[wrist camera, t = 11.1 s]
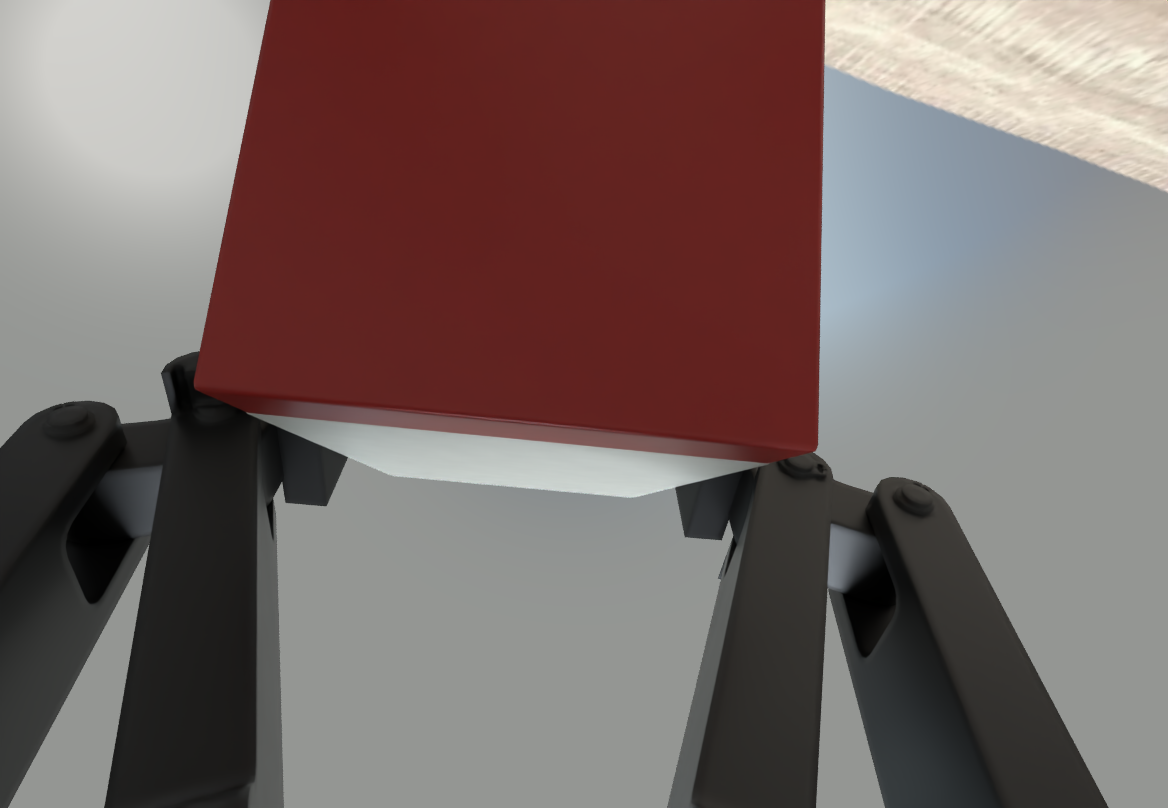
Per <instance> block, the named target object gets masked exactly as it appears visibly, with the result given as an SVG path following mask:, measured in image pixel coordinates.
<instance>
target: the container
mask: <svg viewBox="0 0 1168 808" xmlns="http://www.w3.org/2000/svg"><path fill="white" fill-rule="evenodd" d="M824 51H825V0H271V1H270V6H269V10H268V15H267V20H266V25H265V30H264V35H263V40H262V45H261V50H260V55H259V60H258V65H257V70H256V75H255V80H254V85H253V90H252V95H251V100H250V105H249V110H248V115H247V119H246V125H245V129H244V134H243V139H242V144H241V150H240V154H239V159H238V164H237V169H236V174H235V179H234V184H233V189H232V194H231V199H230V204H229V209H228V214H227V219H226V224H225V228H224V234H223V238H222V244H221V248H220V253H219V258H218V263H217V268H216V273H215V278H214V283H213V288H212V293H211V298H210V303H209V308H208V313H207V318H206V323H205V328H204V333H203V338H202V343H201V348H200V352H199V357H198V362H197V367H196V372H195V377H194V388H195V389H196V390H198V391H200V392H201V393H204V394H206V395H208V396H211V397H213V398H215V399H218V400H220V401H222V402H224V403H227V404H229V405H231V406H234V407H236V408H238V409H241V410H243V411H245V412H247V414H249V415H252V416H254V417H256V418H259V419H261V420H263V421H266V422H268V423H270V424H273V425H275V426H277V427H280V428H282V429H284V430H286V431H289V432H291V433H293V434H296V435H298V436H300V437H303V438H305V439H307V440H310V441H312V442H314V443H317V444H319V445H321V446H324V447H326V448H328V449H331V450H333V451H335V452H338V453H340V454H342V455H345V456H347V457H349V458H351V459H354V460H356V461H358V462H361V463H363V464H365V465H368V466H370V467H372V468H375V469H377V470H379V471H382V472H384V473H386V474H389V475H391V476H399V477H410V478H421V479H432V480H443V481H455V482H466V483H476V484H487V485H498V486H510V487H520V488H531V489H542V490H553V491H564V492H575V493H586V494H597V495H608V496H620V497H630V498H633V497H638V496H642V495H645V494H650V493H654V492H657V491H662V490H666V489H670V488H674V487H678V486H682V485H686V484H690V483H695V482H699V481H703V480H707V479H711V478H715V477H719V476H723V475H727V474H731V473H735V472H739V471H743V470H747V469H751V468H755V467H760V466H764V465H767V464H769V463H772V462H775V461H779V460H783V459H787V458H791V457H795V456H799V455H803V454H807V453H811V452H814V451H816V449H817V446H818V414H819V412H818V411H819V353H820V352H819V351H820V292H821V291H820V290H821V232H822V229H821V228H822V226H821V225H822V171H823V109H824Z"/></svg>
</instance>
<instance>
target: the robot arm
mask: <svg viewBox="0 0 1168 808" xmlns="http://www.w3.org/2000/svg"><path fill="white" fill-rule="evenodd" d="M199 352H200V351H199ZM199 352H193V353H189V354H187V355H184V356H181V357H178V358H176V359H174V360H173V361H171V362H170V363H168V364H167V365H166V366H165V368H164V369H163V371H162V373H161V375H162V379H163V383H164V386H165V390H166V394H167V398H168V402H169V406H170V409H171V413H172V416H171V418H170V419H165V420H158V421H148V422H138V423H126V424H121V422H120V419H119V416H118V414H117V412H116V410H115V408H113V407H111V406H109V405H107V404H105V403H101V402H94V401H79V402H68V403H64V404H59V405H55V406H52V407H50V408H48V409H45V410H43V411H41V412H38V413H36V414H35V415H33V416H32V417H31V418H29V419H28V420H27V421H25V422H24V423H23V424H22V425H21V426H20V427H19V429H17V431H16V432H15V433H14V434H13V435H12V436H11V437H10V438H9V439H8V440H7V441H6V443H5V444H4V445H3V446H2V447H1V448H0V808H8V806H9V805H10V803H11V801H12V799H13V797H14V795H15V793H16V791H17V790H18V788H19V786H20V784H21V782H22V780H23V778H24V777H25V775H26V773H27V771H28V769H29V767H30V765H31V763H32V762H33V760H34V758H35V756H36V754H37V752H38V750H39V749H40V746H41V745H42V743H43V741H44V739H45V737H46V735H47V734H48V732H49V730H50V728H51V726H52V724H53V722H54V721H55V719H56V717H57V715H58V713H59V711H60V709H61V707H62V705H63V704H64V702H65V700H66V698H67V696H68V694H69V692H70V691H71V689H72V687H73V685H74V683H75V681H76V679H77V678H78V676H79V674H80V672H81V670H82V668H83V666H84V665H85V663H86V661H87V659H88V657H89V655H90V653H91V651H92V650H93V648H94V646H95V644H96V642H97V640H98V638H99V637H100V635H101V633H102V631H103V629H104V627H105V625H106V623H107V622H108V620H109V618H110V616H111V614H112V612H113V610H114V609H115V607H116V605H117V603H118V601H119V599H120V597H121V595H122V593H123V592H124V590H125V588H126V586H127V584H128V582H129V580H130V579H131V577H132V575H133V573H134V571H135V569H136V567H137V566H138V564H139V562H140V560H141V558H142V556H143V554H144V553H145V551H146V549H147V547H148V545H149V550H148V556H147V562H146V567H145V573H144V579H143V585H142V591H141V597H140V602H139V609H138V614H137V620H136V626H135V632H134V638H133V644H132V649H131V656H130V661H129V667H128V673H127V679H126V684H125V690H124V696H123V702H122V708H121V714H120V719H119V725H118V732H117V737H116V743H115V749H114V754H113V761H112V766H111V772H110V778H109V784H108V790H107V796H106V802H105V806H104V808H284V800H283V763H282V724H281V688H280V650H279V613H278V575H277V537H276V513H275V506H274V500H273V497H274V495H275V493H276V491H277V489H278V488H279V486H280V484H281V482H283V489H284V496H285V502H286V503H295V504H306V505H318V506H327V504H328V501H329V499H330V497H331V495H332V492H333V490H334V488H335V486H336V483H337V481H338V479H339V476H340V474H341V472H342V469H343V467H344V465H345V463H346V461H347V458H348V457H347V456H345V455H342V454H340V453H338V452H335V451H333V450H331V449H328V448H326V447H324V446H321V445H319V444H317V443H314V442H312V441H310V440H307V439H305V438H303V437H300V436H298V435H296V434H293V433H291V432H289V431H286V430H284V429H282V428H280V427H277V426H275V425H273V424H270V423H268V422H266V421H263V420H261V419H259V418H256V417H254V416H252V415H249V414H247V412H245V411H243V410H241V409H238V408H236V407H234V406H231V405H229V404H227V403H224V402H222V401H220V400H218V399H215V398H213V397H211V396H208V395H206V394H204V393H201V392H200V391H198V390H196V389H195V388H194V377H195V372H196V367H197V362H198V357H199ZM675 488H676V493H677V498H678V504H679V509H680V514H681V519H682V525H683V530H684V535H685V537H690V538H702V539H715V540H722V538H723V535H724V532H725V529H726V526H727V523H728V521H730V524H731V528H732V531H733V535H734V536H733V538H732V541H731V545H730V547H729V550H728V552H727V555H726V558H725V560H724V563H723V566H722V569H721V571H720V574H719V577H718V579H721V582H720V586H719V590H718V595H717V599H716V603H715V607H714V612H713V616H712V620H711V624H710V628H709V633H708V637H707V641H706V646H705V650H704V654H703V658H702V662H701V667H700V671H699V675H698V679H697V683H696V688H695V692H694V696H693V700H692V705H691V709H690V713H689V717H688V722H687V726H686V730H685V734H684V739H683V743H682V747H681V751H680V755H679V760H678V764H677V768H676V773H675V777H674V781H673V785H672V789H671V794H670V798H669V802H668V806H667V808H816V795H817V776H818V757H819V738H820V719H821V700H822V681H823V662H824V642H825V623H826V603H827V588H829V595H830V599H831V603H832V606H833V610H834V614H835V618H836V622H837V625H838V629H839V633H840V637H841V640H842V645H843V648H844V652H845V656H846V659H847V664H848V667H849V671H850V675H851V679H852V683H853V687H854V690H855V694H856V698H857V701H858V705H859V709H860V713H861V717H862V721H863V725H864V728H865V732H866V736H867V740H868V744H869V748H870V751H871V755H872V759H873V763H874V767H875V771H876V774H877V778H878V782H879V786H880V790H881V794H882V797H883V801H884V805H885V808H1108V806H1107V804H1106V802H1105V800H1104V798H1103V796H1102V795H1101V793H1100V791H1099V789H1098V787H1097V785H1096V783H1095V781H1094V779H1093V778H1092V775H1091V774H1090V772H1089V770H1088V768H1087V766H1086V764H1085V762H1084V761H1083V759H1082V757H1081V755H1080V753H1079V751H1078V749H1077V747H1076V745H1075V744H1074V741H1073V739H1072V738H1071V736H1070V734H1069V732H1068V730H1067V728H1066V726H1065V724H1064V723H1063V721H1062V719H1061V717H1060V715H1059V713H1058V711H1057V709H1056V707H1055V706H1054V703H1053V702H1052V700H1051V698H1050V696H1049V694H1048V692H1047V690H1046V688H1045V687H1044V685H1043V683H1042V681H1041V679H1040V677H1039V675H1038V673H1037V671H1036V669H1035V667H1034V666H1033V664H1032V662H1031V660H1030V658H1029V656H1028V654H1027V652H1026V650H1025V648H1024V647H1023V645H1022V643H1021V641H1020V639H1019V638H1018V635H1017V633H1016V632H1015V630H1014V628H1013V626H1012V624H1011V622H1010V620H1009V618H1008V616H1007V614H1006V612H1005V611H1004V609H1003V607H1002V605H1001V603H1000V601H999V599H998V597H997V595H996V593H995V592H994V590H993V588H992V586H991V584H990V582H989V580H988V578H987V576H986V575H985V573H984V571H983V569H982V567H981V565H980V563H979V561H978V559H977V558H976V556H975V554H974V552H973V550H972V548H971V546H970V544H969V542H968V540H967V538H966V537H965V535H964V533H963V531H962V529H961V527H960V525H959V523H958V521H957V520H956V518H955V516H954V514H953V512H952V510H951V508H950V507H949V505H948V504H947V503H946V501H945V500H944V499H943V498H942V497H941V496H940V495H939V494H937V493H936V492H935V491H933V490H932V489H931V488H929V487H927V486H926V485H923V484H922V483H919V482H917V481H913V480H909V479H906V478H899V477H889V478H886V479H883V480H881V481H880V483H879V484H878V485H877V487H876V489H875V491H874V493H872V492H868V491H865V490H862V489H859V488H855V487H852V486H849V485H846V484H843V483H841V482H838V481H835V480H834V479H833V475H832V471H831V468H830V467H829V466H828V464H826V462H825V461H824V460H823V459H822V458H820V457H819V456H817V455H816V454H815V453H813V452H811V453H807V454H803V455H799V456H795V457H791V458H787V459H783V460H779V461H775V462H772V463H769V464H767V465H764V466H760V467H755V468H751V469H747V470H743V471H739V472H735V473H731V474H727V475H723V476H719V477H715V478H711V479H707V480H703V481H699V482H695V483H690V484H686V485H682V486H678V487H675ZM149 543H150V544H149Z"/></svg>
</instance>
